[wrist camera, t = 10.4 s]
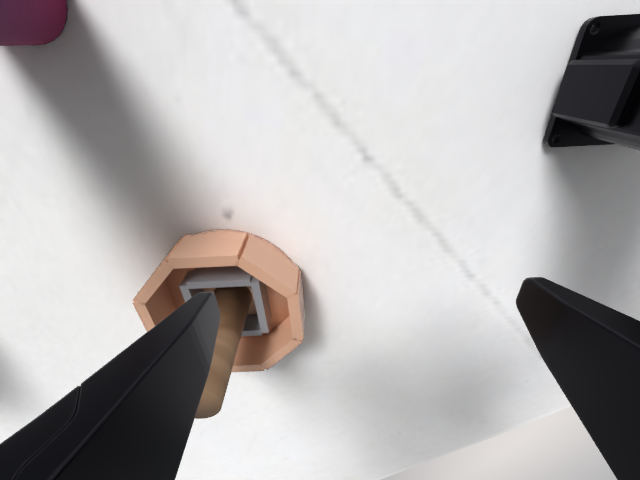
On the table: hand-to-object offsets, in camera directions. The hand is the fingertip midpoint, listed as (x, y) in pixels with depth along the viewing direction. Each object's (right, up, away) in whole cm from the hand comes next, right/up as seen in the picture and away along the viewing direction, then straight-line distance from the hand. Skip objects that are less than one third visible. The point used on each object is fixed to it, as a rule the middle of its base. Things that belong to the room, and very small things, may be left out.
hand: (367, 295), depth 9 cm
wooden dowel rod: (-8, -3, +15) cm, 18 cm away
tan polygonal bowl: (-9, -3, +16) cm, 18 cm away
